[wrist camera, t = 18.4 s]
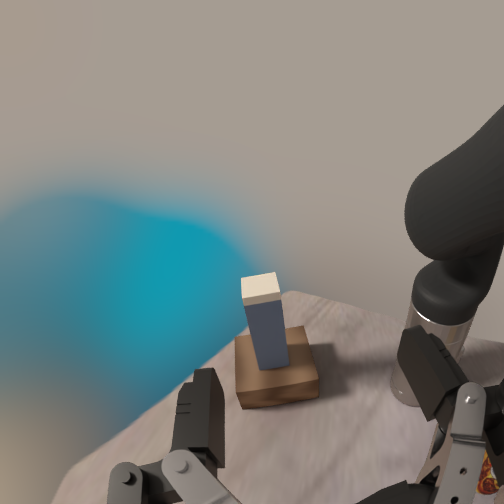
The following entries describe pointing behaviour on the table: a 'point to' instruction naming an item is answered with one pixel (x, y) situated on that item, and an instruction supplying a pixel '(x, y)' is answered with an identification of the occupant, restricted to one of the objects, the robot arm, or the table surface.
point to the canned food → (487, 478)
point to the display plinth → (275, 373)
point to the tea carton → (265, 320)
